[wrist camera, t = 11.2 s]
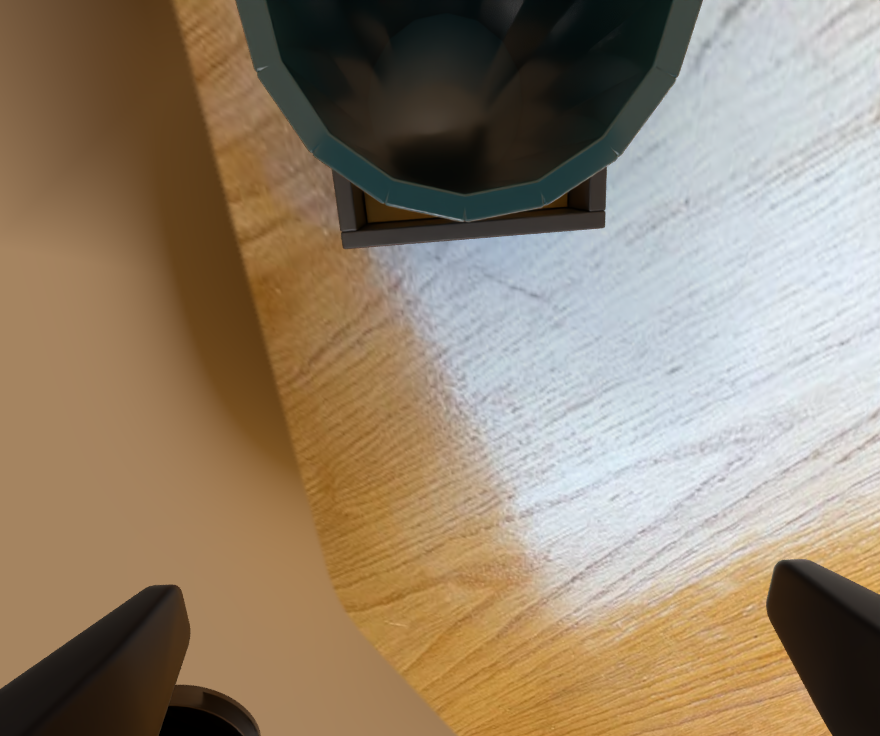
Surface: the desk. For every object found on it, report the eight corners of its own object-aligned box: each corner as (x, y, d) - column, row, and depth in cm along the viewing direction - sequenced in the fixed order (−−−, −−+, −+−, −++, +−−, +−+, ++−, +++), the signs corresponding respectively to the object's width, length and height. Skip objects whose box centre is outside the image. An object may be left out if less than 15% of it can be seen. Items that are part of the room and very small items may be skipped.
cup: (328, 131, 16) (146, 40, 6) (421, -37, 15) (399, -552, 4) (465, 228, 17) (516, 297, 7) (563, 81, 16) (815, -107, 5)
